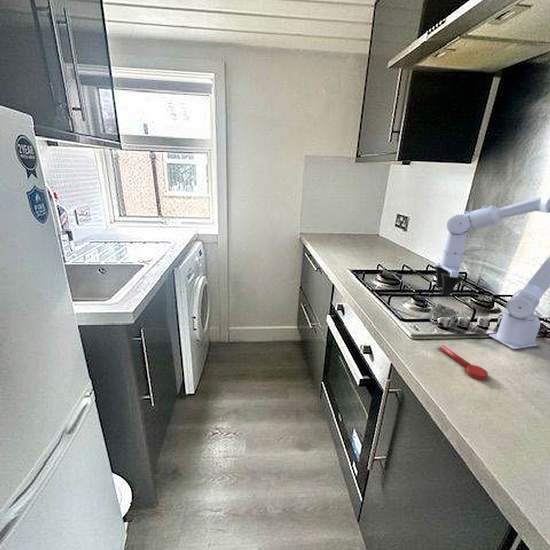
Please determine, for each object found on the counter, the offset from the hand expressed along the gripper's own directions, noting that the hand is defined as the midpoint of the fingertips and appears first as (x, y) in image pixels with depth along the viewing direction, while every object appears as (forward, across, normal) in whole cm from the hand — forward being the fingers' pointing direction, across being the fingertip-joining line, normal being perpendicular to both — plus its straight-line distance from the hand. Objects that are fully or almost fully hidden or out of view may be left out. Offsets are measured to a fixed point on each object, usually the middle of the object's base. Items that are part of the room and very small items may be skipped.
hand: (443, 290), depth 102 cm
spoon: (+10, +29, 0) cm, 30 cm away
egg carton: (+10, +2, +1) cm, 10 cm away
